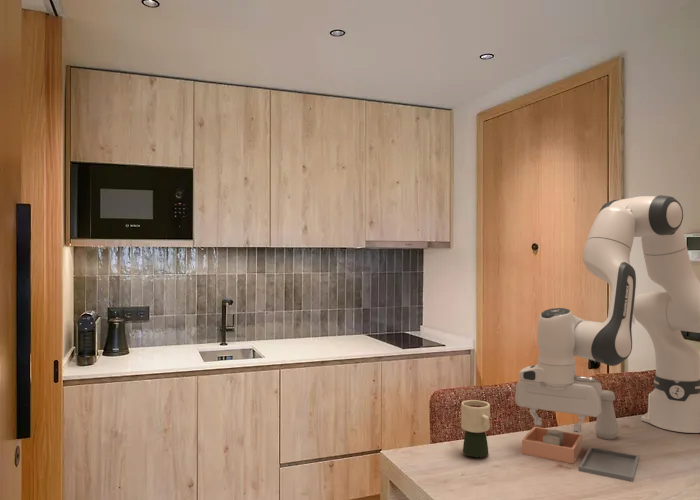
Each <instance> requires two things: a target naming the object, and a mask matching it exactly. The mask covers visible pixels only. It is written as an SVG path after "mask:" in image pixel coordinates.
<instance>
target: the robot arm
mask: <svg viewBox="0 0 700 500" xmlns="http://www.w3.org/2000/svg"><path fill="white" fill-rule="evenodd" d="M683 210H684V209H683V207H682V204H681V203H680V201H678V200H677V199H676V197H674V196H669V195H663V194H662V195H661V194H660V195H656V196H655V195H641V196H635V197H629V198H623V199H613V200H610V201H607V202H605V203H603V205H602V206H601V208H600V210H599V212H598V214H597V216H596V217H595V219H594V221H593V224H592V225H591V228H590V230H589V232H588V236H587V237H586V238H587V239H586V241H585V244H584V248H583V252H582V261H583V264H584V266H585V268H586V269H587V271H588V272H590V273H591V274H592V275H593V276H595V277H596V278H598V279H600V280H602V281H604V282H606V283H607V284H608V285H609V287H610V295H609V296H610V297H609V304H608V313H607V317H606V320H604V321H603V322H599V321H593V320H589V319H583V318H580V317H578V316H576V315H574V314H573V313H572V311H571V310H570V309H568V308H565V307H556V308H555V307H554V308H549V309H546V310H543V311H541V313H540V315H539V318H538V322H537V334H536V335H537V341H536V342H537V343H536V344H537V347H538V350H539V351H538V357H537V364H534V365H529V366H525V367H524V368H522V369H521V370H520V371H519V372H518V377H519V380H518V381H517V383H516V385H515V386H516V387H515V398H514V401H515V404H516V405H517V406H518V407H522V408H529V413H530V415H531V417H532V419H533V421H534V427H542V425H543V422H542V421H543V418H542V417H539V415H538V413H537V411H538V410H542V411H543V410H544V411H549V412H557V413H564V414H571V415H572V414H573V415H577V418H578V420H579V422H578V423H577V422H574V424H573V432H574V433H578V434H580V433H581V432H582V424H583V423H584V421H585V420H586V418H587V417H592V418H597V416H598V415H599V414H600V413H601V400H600V395H601V393H602V390H603V386H602V383H601V381H600V380H598V379H596V378H595V377H593V376H592V377H591V376H590V377H589V376H583V375H576V360H575V357H578V358H582V359H587V360H591V361H595V362H598V363H601V364H604V365H607V366H610V367H616V366H617V365H620V364H622V363H623V362H625V361H626V360H627V359H628V358H629V356H631V353H632V350H633V335H632V334H633V333H632V325H633V318H634V319H635V320H636V322H638V323H639V324H640V325H641V326H642V327H643V328H644V329H645V330H646V332H647V333H648V334H649V338H650V339H651V342H652V344H653V348H654V355H655V375H654V378H653V386H654V389H653V390H652V391H650V393H648V399H647V400H648V403H647V404H648V405H647V412H646V413H644V414H643V415H641V418H640V420H641V421H643V422H646V423H648V424H651V425H653V426H655V427H657V428H660V429H664V430H667V431H671V432H679V433H688V434H689V433H691V434H696V433H697V434H698V433H700V353H699V351H698V349H697V348H696V347H695V346H693V345H692V344H690V343H689V342H687V341H686V340H685V338H684V336H683V334H682V331H683V332H689V333H690V332H691V333H698V334H700V280H699V279H698V278H697V276H696V273H695V272H694V270H693V266H692V263H691V259H690V255H689V251H688V250H689V249H688V245H687V241H686V236H685V233H684V230H683V227H682V222H683V219H684V211H683ZM635 238H641V240H640V241H641V247H642V253H643V257H644V258H643V259H644V262H645V267H646V272H647V276H648V277H649V279H650V280H651V281H652V282H654V283H655V284H657V285H659V286H660V287H662V288H663V289H664V290H665V291H661V290H659V291H658V290H655V291H647V292H641V293H639V294H638V295H637V296H636V288H637V276H636V275H637V274H636V270H635V268H634V267H633V266H632V265H631V263H630V262H631V261H630V258H631V257H630V256H631V255H630V254H631V251H632V249H633V248H632V247H633V245H634V244H633V243H634V239H635Z"/></svg>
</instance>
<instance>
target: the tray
mask: <svg viewBox="0 0 700 500" xmlns="http://www.w3.org/2000/svg"><path fill="white" fill-rule="evenodd" d="M639 462H640V455H638V454H637V455H636V454H633V453H632V454H631V453H627V452H621V451H617V450H609V449H604V448H600V447H593V446H589V447H588V449H587V451H586V453H585V454H584V456H583V458H582V460H581V462H580V463H579V465H578V472H583V473H587V474H592V475H598V476H602V477H607V478H612V479H617V480H621V481H627V482H631V483H634V479H635V476H636V472H637V469H638V465H639Z"/></svg>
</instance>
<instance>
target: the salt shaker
mask: <svg viewBox="0 0 700 500" xmlns="http://www.w3.org/2000/svg"><path fill="white" fill-rule="evenodd" d="M600 400H601V413H600V414H599V415H598V416H597V417H596V420H595V421H596V422H595V426H594V430H595V433H596V435H597V438H598V437H599V438H600V439H603V440H615V439H616V438H617V437H618V435H619V426H618V421H617V418H616V416H617V415H616V412H615V407H614V401H615V400H616V394H615V392H614V391H612V390H607V389H602V393H601V395H600Z"/></svg>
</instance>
